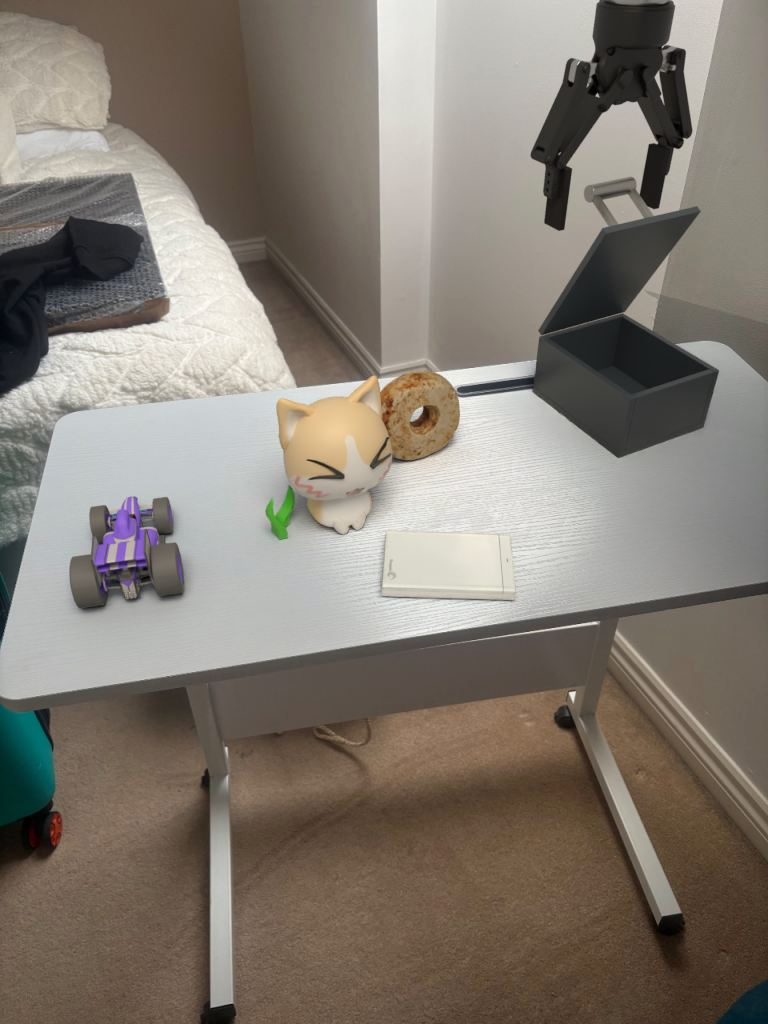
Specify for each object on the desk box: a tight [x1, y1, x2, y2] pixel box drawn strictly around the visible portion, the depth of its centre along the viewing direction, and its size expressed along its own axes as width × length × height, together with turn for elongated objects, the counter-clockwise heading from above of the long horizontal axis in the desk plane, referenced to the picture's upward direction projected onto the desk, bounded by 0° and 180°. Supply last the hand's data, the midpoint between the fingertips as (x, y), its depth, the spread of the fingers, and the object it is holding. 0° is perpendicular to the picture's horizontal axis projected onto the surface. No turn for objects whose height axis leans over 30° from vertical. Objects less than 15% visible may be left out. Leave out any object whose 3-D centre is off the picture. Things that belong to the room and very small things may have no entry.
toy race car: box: [68, 495, 185, 609], centre depth 80 cm, size 10×15×6 cm, turn 12°
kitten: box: [264, 375, 393, 540], centre depth 82 cm, size 15×10×15 cm
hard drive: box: [381, 530, 517, 601], centre depth 80 cm, size 2×8×12 cm
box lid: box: [538, 176, 701, 336], centre depth 97 cm, size 18×13×8 cm
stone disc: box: [380, 370, 461, 461], centre depth 93 cm, size 10×4×10 cm, turn 116°
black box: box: [532, 312, 720, 459], centre depth 100 cm, size 17×13×8 cm
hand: (602, 216), depth 94 cm, fingers open, 13 cm apart
